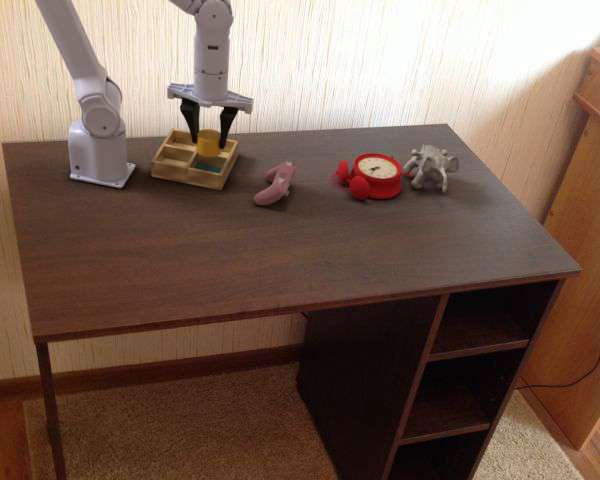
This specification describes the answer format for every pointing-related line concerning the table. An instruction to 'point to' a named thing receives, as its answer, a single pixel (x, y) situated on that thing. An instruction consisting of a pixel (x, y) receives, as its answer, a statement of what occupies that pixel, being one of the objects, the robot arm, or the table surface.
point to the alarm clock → (371, 176)
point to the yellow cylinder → (208, 143)
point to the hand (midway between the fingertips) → (209, 143)
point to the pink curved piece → (276, 184)
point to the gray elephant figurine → (431, 166)
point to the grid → (192, 161)
